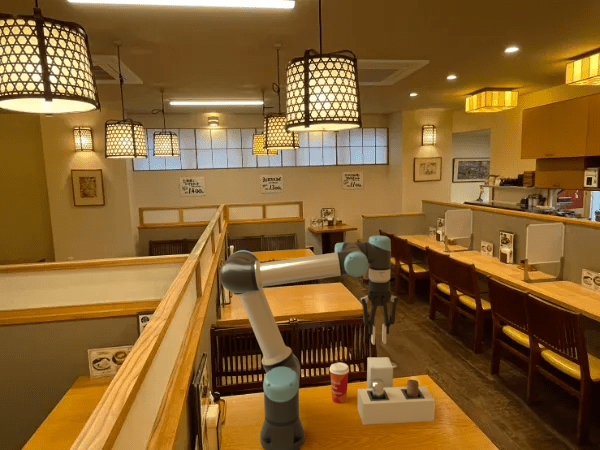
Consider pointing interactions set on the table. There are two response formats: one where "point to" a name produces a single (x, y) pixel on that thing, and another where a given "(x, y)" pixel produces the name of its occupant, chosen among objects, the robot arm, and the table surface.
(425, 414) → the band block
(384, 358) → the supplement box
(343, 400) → the paper cup
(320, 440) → the table surface
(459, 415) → the table surface
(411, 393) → the walnut peg
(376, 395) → the metal peg
